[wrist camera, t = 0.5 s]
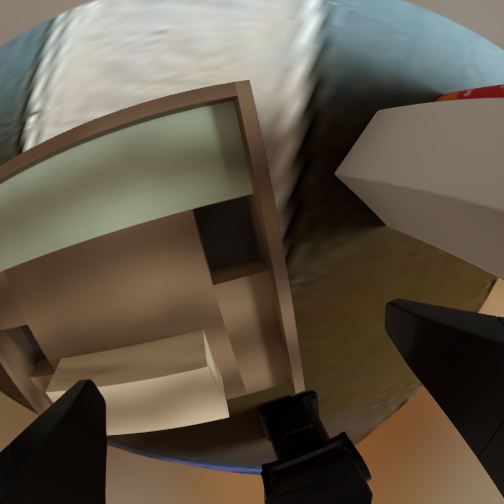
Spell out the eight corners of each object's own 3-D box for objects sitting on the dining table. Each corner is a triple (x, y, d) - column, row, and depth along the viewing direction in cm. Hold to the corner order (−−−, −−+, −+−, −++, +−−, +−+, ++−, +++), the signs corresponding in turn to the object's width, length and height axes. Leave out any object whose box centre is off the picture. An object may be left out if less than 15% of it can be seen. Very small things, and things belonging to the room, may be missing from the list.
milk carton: (332, 173, 21) (600, 249, 3) (377, 109, 20) (606, 105, 2) (386, 226, 23) (582, 328, 5) (423, 165, 22) (613, 212, 4)
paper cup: (473, 111, 21) (575, 118, 8) (461, 170, 23) (572, 196, 10) (431, 69, 19) (549, 55, 6) (417, 133, 21) (554, 143, 8)
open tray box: (288, 357, 25) (304, 390, 21) (65, 401, 22) (54, 432, 18) (236, 97, 17) (249, 79, 13) (-31, 200, 14) (-62, 210, 10)
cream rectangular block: (221, 379, 21) (229, 417, 17) (91, 402, 19) (82, 436, 15) (203, 329, 19) (207, 366, 15) (61, 358, 17) (45, 392, 14)
